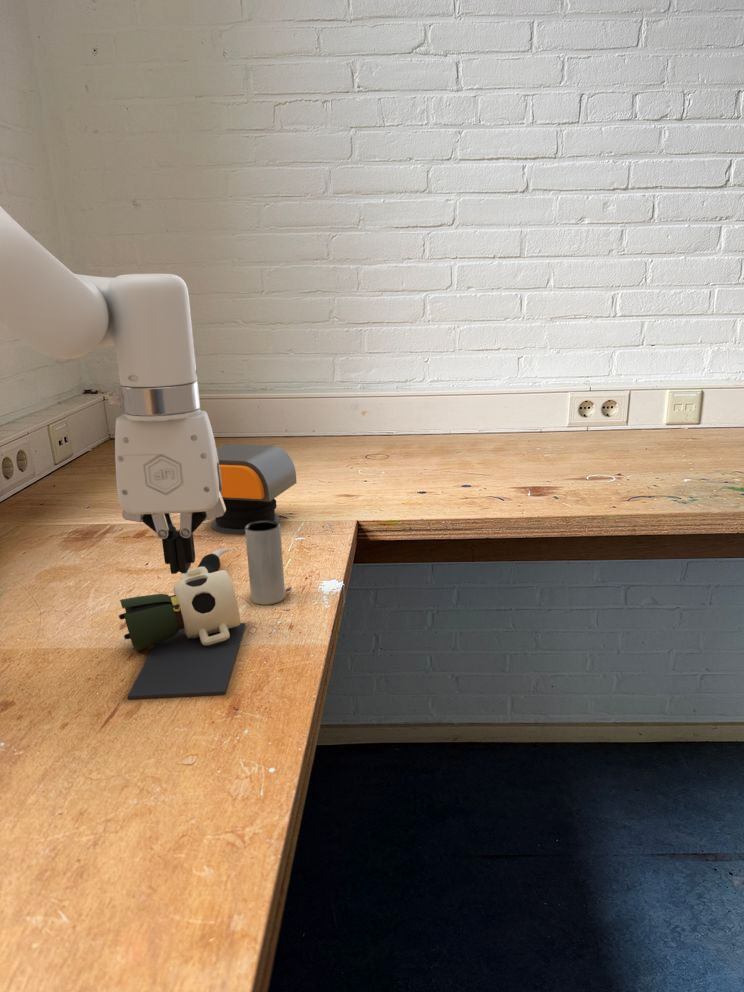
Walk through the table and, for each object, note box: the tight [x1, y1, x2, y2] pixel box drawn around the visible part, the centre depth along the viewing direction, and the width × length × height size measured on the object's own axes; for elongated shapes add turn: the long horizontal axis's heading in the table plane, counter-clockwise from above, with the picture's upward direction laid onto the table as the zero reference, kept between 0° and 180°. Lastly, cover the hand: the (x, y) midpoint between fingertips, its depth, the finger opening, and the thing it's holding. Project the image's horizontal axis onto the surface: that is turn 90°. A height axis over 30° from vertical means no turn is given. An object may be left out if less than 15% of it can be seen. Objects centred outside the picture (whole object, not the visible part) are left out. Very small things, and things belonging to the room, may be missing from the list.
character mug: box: [118, 566, 241, 652], centre depth 94 cm, size 11×7×13 cm
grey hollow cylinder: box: [244, 521, 286, 606], centre depth 106 cm, size 4×4×10 cm
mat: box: [126, 622, 247, 700], centre depth 91 cm, size 10×17×1 cm, turn 4°
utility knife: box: [197, 548, 235, 573], centre depth 112 cm, size 22×4×3 cm, turn 3°
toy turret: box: [210, 443, 297, 535], centre depth 139 cm, size 15×25×13 cm, turn 76°
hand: (181, 568), depth 87 cm, fingers closed
